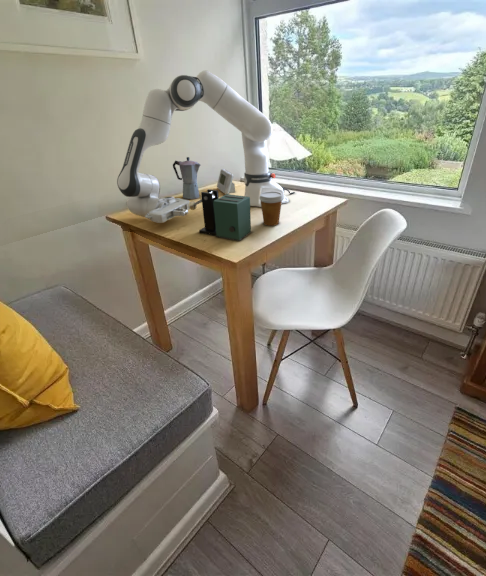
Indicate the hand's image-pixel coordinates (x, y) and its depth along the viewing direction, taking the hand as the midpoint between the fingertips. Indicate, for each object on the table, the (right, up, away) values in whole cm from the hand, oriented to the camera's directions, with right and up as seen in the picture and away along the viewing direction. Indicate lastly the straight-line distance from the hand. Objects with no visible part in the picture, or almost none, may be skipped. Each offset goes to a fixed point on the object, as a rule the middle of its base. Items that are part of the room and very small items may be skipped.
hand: (186, 213), depth 131 cm
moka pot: (-6, +17, +39) cm, 44 cm away
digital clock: (+11, +23, +48) cm, 54 cm away
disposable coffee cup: (+35, -4, +4) cm, 35 cm away
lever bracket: (+11, -8, -2) cm, 14 cm away
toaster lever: (+8, +2, -6) cm, 10 cm away
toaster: (+20, -10, -6) cm, 23 cm away
